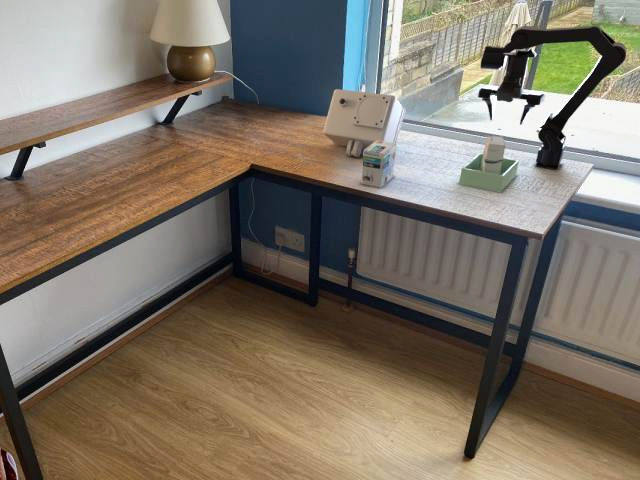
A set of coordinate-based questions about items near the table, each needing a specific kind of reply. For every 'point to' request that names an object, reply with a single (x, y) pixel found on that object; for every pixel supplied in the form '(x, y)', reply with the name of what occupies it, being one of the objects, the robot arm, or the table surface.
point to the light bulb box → (378, 163)
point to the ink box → (493, 155)
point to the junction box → (363, 119)
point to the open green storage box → (488, 174)
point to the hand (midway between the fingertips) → (505, 122)
